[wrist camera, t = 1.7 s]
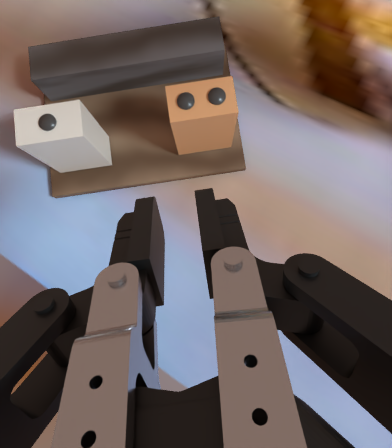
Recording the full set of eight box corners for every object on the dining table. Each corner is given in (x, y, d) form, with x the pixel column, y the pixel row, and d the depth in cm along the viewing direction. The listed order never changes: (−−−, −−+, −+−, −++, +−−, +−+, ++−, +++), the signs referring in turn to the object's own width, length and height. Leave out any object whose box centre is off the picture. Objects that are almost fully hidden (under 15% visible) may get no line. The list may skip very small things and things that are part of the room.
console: (244, 170, 41) (251, 154, 35) (56, 198, 42) (30, 187, 36) (224, 49, 43) (227, 15, 37) (45, 77, 44) (20, 48, 38)
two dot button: (231, 147, 40) (238, 111, 31) (178, 155, 40) (169, 121, 31) (226, 118, 41) (232, 74, 31) (174, 126, 41) (164, 85, 31)
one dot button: (112, 165, 40) (82, 135, 31) (60, 172, 41) (14, 145, 31) (108, 136, 41) (78, 98, 31) (58, 144, 41) (12, 108, 31)
